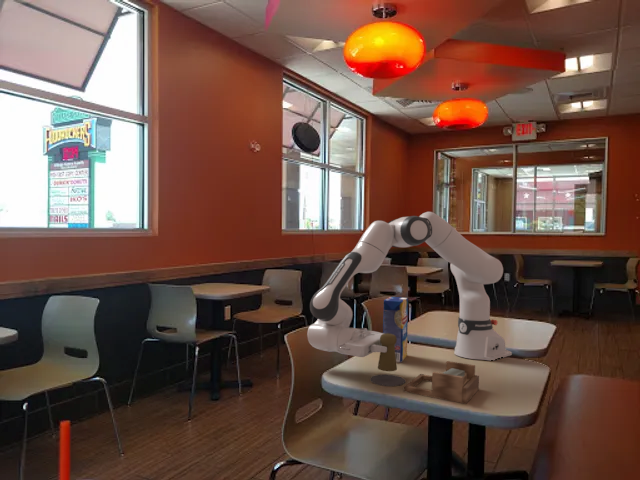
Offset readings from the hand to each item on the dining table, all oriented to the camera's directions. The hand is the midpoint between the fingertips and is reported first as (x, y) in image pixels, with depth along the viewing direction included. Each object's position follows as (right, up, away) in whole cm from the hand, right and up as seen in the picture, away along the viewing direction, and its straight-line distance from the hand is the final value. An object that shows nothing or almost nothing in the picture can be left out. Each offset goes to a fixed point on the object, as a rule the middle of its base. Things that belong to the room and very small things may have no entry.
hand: (390, 347), depth 153 cm
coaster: (-1, -11, +1) cm, 11 cm away
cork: (-1, -7, +1) cm, 7 cm away
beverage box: (+6, -10, +28) cm, 31 cm away
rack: (+14, -11, -8) cm, 19 cm away
